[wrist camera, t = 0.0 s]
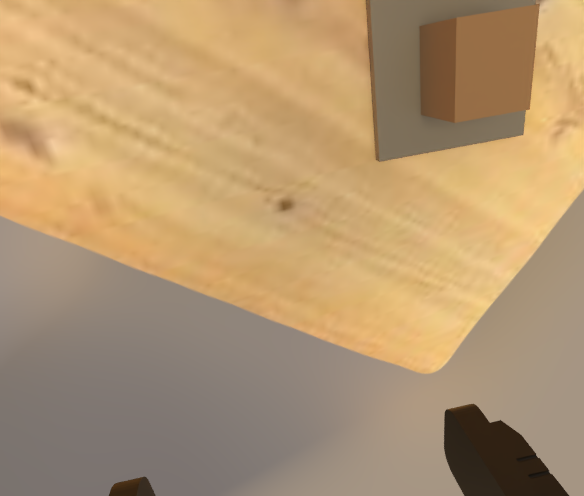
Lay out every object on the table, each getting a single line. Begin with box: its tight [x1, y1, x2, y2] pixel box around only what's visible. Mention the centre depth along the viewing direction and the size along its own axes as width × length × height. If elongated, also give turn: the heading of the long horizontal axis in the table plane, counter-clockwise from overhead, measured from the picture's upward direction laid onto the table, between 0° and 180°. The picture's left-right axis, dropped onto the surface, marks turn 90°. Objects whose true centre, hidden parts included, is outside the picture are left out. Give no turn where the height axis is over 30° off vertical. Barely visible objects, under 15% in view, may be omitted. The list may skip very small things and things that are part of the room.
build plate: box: [366, 0, 540, 162], centre depth 32 cm, size 14×14×7 cm
